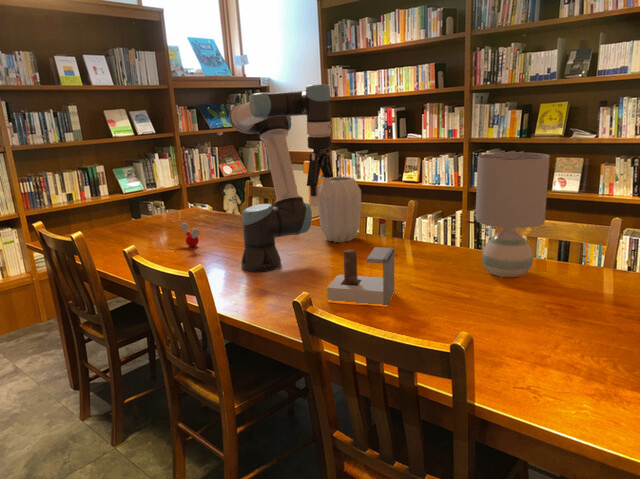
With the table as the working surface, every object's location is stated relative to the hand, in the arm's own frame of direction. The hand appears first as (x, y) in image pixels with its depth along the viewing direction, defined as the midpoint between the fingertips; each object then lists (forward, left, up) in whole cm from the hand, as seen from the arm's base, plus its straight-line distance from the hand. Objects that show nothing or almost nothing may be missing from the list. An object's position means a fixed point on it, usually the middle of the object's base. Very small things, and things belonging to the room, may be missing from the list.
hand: (321, 201), depth 163 cm
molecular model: (-73, +33, -29) cm, 85 cm away
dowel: (+12, -11, -29) cm, 33 cm away
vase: (-10, +55, -29) cm, 63 cm away
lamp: (+59, +20, -29) cm, 69 cm away
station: (+15, -11, -29) cm, 34 cm away
